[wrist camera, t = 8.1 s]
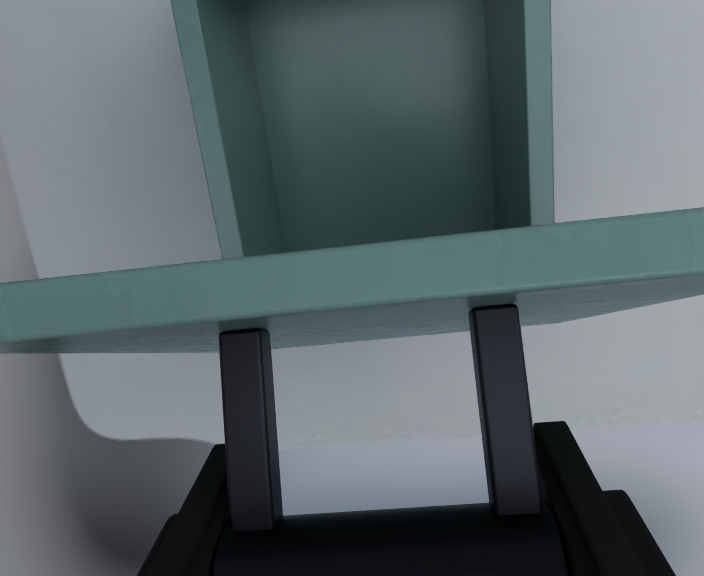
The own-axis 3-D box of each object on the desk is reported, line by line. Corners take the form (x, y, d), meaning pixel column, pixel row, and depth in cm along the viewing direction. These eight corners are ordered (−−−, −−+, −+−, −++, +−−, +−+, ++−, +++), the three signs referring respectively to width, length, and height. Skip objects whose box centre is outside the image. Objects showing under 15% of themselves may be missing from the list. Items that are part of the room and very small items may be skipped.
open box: (226, -19, 28) (155, -70, 19) (497, -61, 26) (548, -135, 18) (277, 275, 32) (238, 338, 24) (510, 250, 31) (556, 308, 22)
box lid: (-123, 295, 8) (-128, 779, 7) (901, 184, 7) (1020, 757, 6) (234, 332, 23) (244, 485, 23) (558, 301, 22) (579, 462, 21)
